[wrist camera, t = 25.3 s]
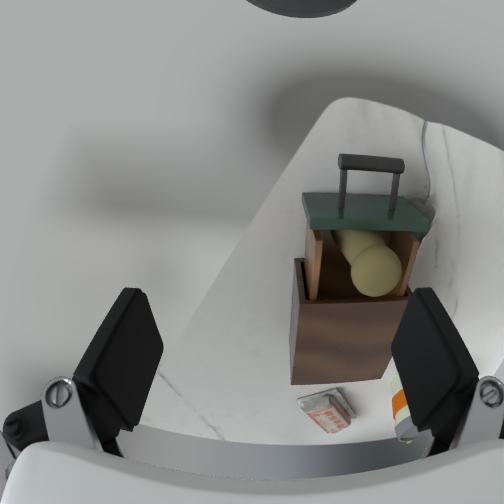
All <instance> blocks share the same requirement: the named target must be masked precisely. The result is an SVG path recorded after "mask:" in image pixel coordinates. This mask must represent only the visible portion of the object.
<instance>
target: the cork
mask: <svg viewBox="0 0 504 504" xmlns="http://www.w3.org/2000/svg"><path fill="white" fill-rule="evenodd" d="M331 235H332V238H333V240H334V242H335V243H336V245H337V246H338V247H339V249H340V250H341V252H342V253H343V255H344V256H345V258H346V259H347V260H348V262H349V263H350V265H351V277H352V281H353V284H354V285H355V286H356V288H357V289H358V290H359V291H360V292H361V293H363V294H364V295H367V296H372V297H377V296H382V295H385V294H387V293H388V292H390V291H391V290H392V289H393V288H394V287H395V286H396V285H397V283H398V282H399V279H400V275H401V263H400V260H399V259H398V257H397V255H396V254H395V252H393V251H392V250H391V249H390V248H388V247H386V245H385V242H384V240H383V237H382V235H381V232H380V231H378V230H331Z"/></svg>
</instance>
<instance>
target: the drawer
mask: <svg viewBox="0 0 504 504" xmlns="http://www.w3.org/2000/svg"><path fill="white" fill-rule="evenodd" d="M338 166H339V169H341V172H340V187H339V193H302V203H303V207H304V210H305V214H306V218H307V232H306V248H305V263H304V277H303V283H304V290H305V297H306V300H327V299H361V298H384V297H402V296H404V294H405V290H406V287H407V284H408V281H409V278H410V275H411V271H412V268H413V264H414V261H415V257H416V253H417V250H418V246H419V241H418V240H417V238H416V237H415V236H414V235H413V234H412V233H411V231H417V232H428V230H429V226H430V221H428V220H427V219H426V218H425V217H424V216H423V215H422V214H421V213H420V212H419V211H418V210H417V209H416V208H415V207H414V206H413V205H411V204H410V203H409V202H408V201H407V200H406V199H405V198H404V197H400V196H397V194H398V187H399V179H400V174H402V173H403V172H404V168H405V164H404V161H403V159H399V158H389V157H379V156H368V155H355V154H339V157H338ZM347 170H362V171H376V172H388V173H393V182H392V189H391V196H385V195H367V194H346V183H347ZM331 230H378V231H380V232H381V235H382V237H383V240H384V242H385V245H386V247H388V248H390V249H391V250H392V251H393V252H395V254H396V255H397V257H398V259H399V260H400V263H401V275H400V279H399V282H398V283H397V285H396V286H395V287H394V288H393V289H392V290H391V291H390V292H388V293H387V294H385V295H382V296H377V297H372V296H367V295H364V294H363V293H361V292H360V291H359V290H358V289H357V288H356V286H355V285H354V284H353V281H352V277H351V265H350V263H349V262H348V260H347V259H346V258H345V256H344V255H343V253H342V252H341V250H340V249H339V247H338V246H337V245H336V243H335V242H334V240H333V238H332V235H331Z"/></svg>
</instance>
